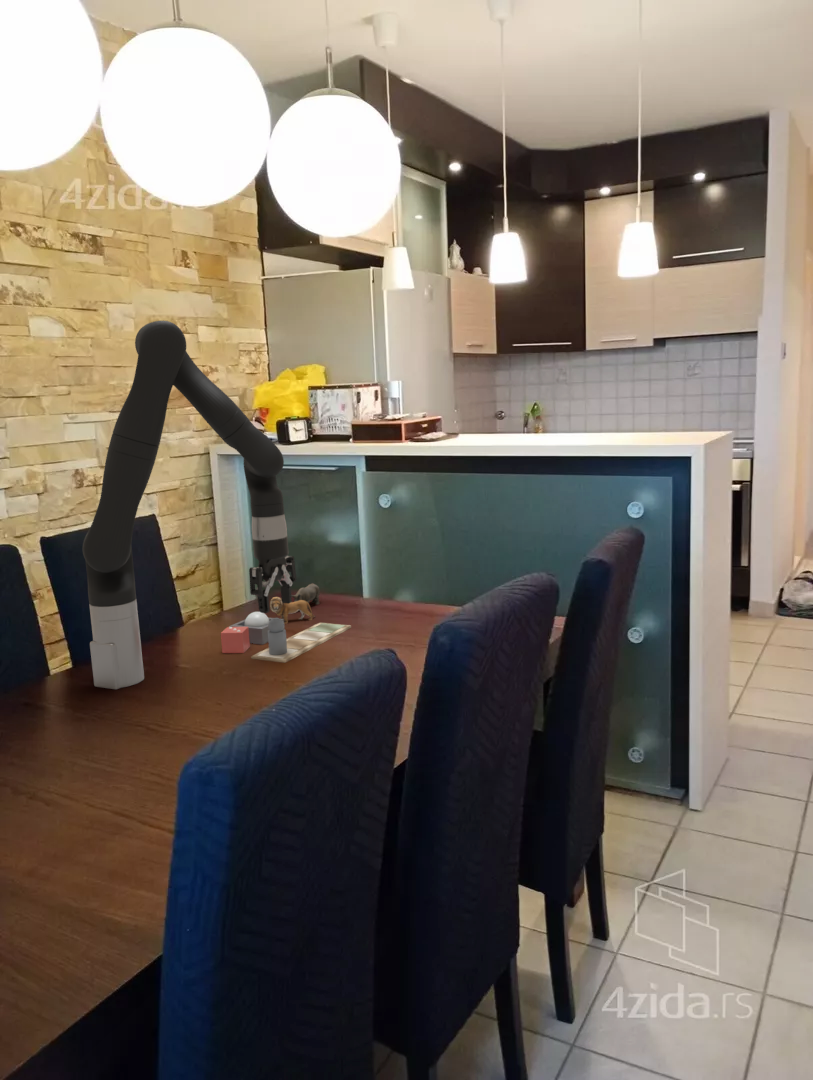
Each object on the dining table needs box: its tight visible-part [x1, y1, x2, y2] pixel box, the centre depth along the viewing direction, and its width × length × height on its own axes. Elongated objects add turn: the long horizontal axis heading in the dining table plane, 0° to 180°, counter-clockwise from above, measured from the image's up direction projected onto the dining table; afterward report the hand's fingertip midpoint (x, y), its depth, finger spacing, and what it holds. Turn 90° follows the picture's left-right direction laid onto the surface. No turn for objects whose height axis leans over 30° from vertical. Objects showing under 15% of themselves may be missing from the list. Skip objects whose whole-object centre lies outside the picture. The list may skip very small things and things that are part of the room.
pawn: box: [267, 617, 287, 655], centre depth 193 cm, size 4×4×8 cm
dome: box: [244, 611, 270, 628], centre depth 208 cm, size 6×6×6 cm
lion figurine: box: [269, 596, 316, 625], centre depth 222 cm, size 12×4×7 cm, turn 118°
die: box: [220, 626, 251, 654], centre depth 199 cm, size 5×5×5 cm
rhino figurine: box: [291, 582, 321, 610], centre depth 236 cm, size 4×14×6 cm, turn 156°
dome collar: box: [229, 617, 286, 645], centre depth 208 cm, size 9×9×4 cm
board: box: [250, 622, 352, 664], centre depth 203 cm, size 29×9×1 cm, turn 154°
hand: (276, 607), depth 192 cm, fingers open, 8 cm apart
